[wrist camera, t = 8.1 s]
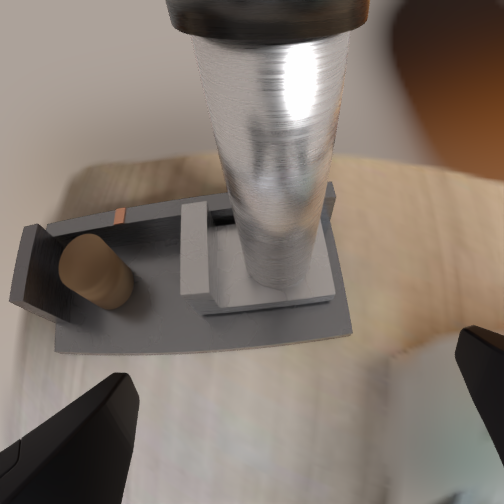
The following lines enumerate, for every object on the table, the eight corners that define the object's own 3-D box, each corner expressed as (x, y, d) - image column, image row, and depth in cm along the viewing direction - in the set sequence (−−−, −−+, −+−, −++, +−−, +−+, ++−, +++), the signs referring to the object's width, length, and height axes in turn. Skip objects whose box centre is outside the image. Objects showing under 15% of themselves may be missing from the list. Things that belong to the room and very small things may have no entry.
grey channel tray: (324, 213, 19) (336, 156, 14) (349, 335, 15) (378, 311, 11) (72, 246, 19) (29, 207, 14) (62, 353, 16) (5, 335, 11)
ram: (317, 224, 17) (354, -66, 4) (332, 300, 15) (461, -23, 2) (197, 238, 17) (83, -30, 4) (199, 315, 15) (-13, 42, 2)
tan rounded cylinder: (116, 318, 16) (85, 300, 13) (82, 294, 17) (49, 273, 13) (143, 274, 17) (118, 247, 14) (107, 253, 18) (80, 225, 14)
